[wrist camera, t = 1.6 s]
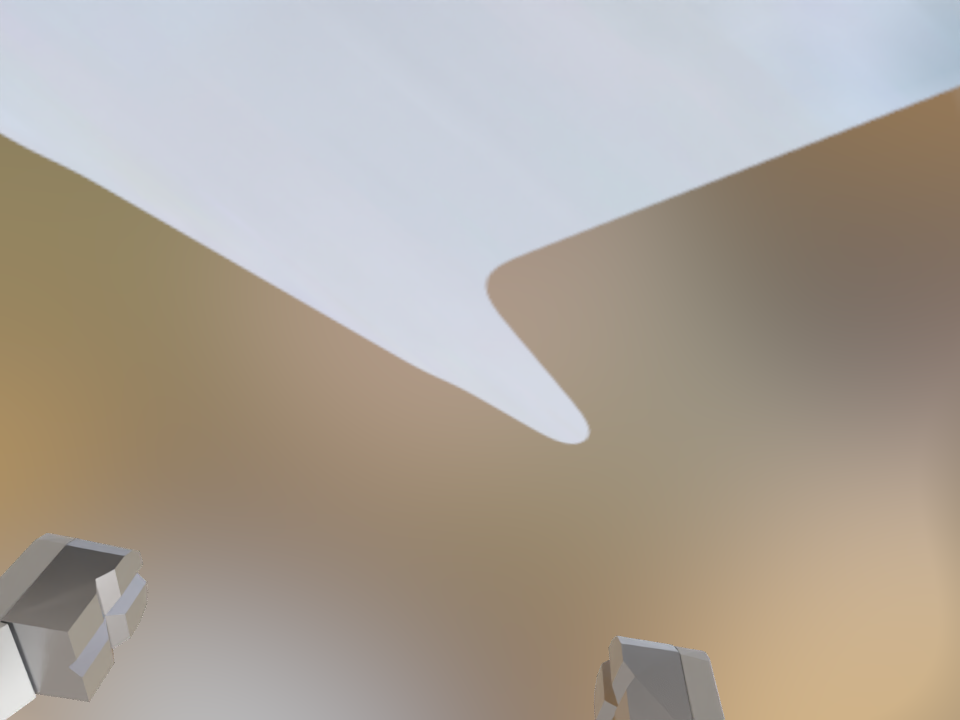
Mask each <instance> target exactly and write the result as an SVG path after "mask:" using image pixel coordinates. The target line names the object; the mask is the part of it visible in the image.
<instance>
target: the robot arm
mask: <svg viewBox="0 0 960 720" xmlns="http://www.w3.org/2000/svg"><path fill="white" fill-rule="evenodd" d="M142 565H143V562H142V558H141V554H140V551H137V550H132V549H126V548H121V547H116V546H111V545H106V544H101V543H96V542H91V541H86V540H81V539H78V538H72V537H67V536H61V535H56V534H50V533H46V534H45V535H43V536H41V537H40V538H38V539H36V540H35V541H34V542H33V543H32V544H31V545H30V546H29V547H28V548H27V549H26V550H25V551H24V552H23V553H22V554H21V556H20V557H19V558H18V559H17V560H16V561H15V562H14V563H13V564H12V565H11V566H10V567H9V568H8V570H7V571H6V572H5V573H4V574H3V575H2V576H1V577H0V720H6V719H7V718H8V717H10V716H11V715H13V714H14V713H15V712H17V711H18V710H19V709H21V708H22V707H24V706H25V705H26V704H28V703H29V702H30V701H32V700H33V699H34V698H35V697H36V695H35V694H40V695H47V696H53V697H60V698H67V699H73V700H80V701H87V702H90V700H91V698H92V697H93V696H94V694H95V692H96V691H97V689H98V688H99V686H100V685H101V683H102V682H103V680H104V678H105V677H106V675H107V674H108V672H109V671H110V669H111V668H112V666H113V665H114V653H113V649H114V648H115V647H117V646H119V645H120V644H122V643H123V642H125V641H127V640H128V639H130V638H131V636H132V635H133V633H134V631H135V630H136V628H137V627H138V625H139V623H140V621H141V618H142V616H143V613H144V611H145V608H146V605H147V598H148V588H147V582H146V581H145V580H144V579H143V578H142V577H141V576H140V575H139V574H138V571H139V570H140V568H141V567H142ZM609 657H610V660H608V661H606V662H604V663H603V664H602V665H601V667H600V670H599V673H598V675H597V681H596V686H595V695H594V712H595V720H725V718H724V714H723V710H722V707H721V702H720V698H719V694H718V690H717V686H716V682H715V678H714V674H713V670H712V666H711V662H710V658H709V657H708V656H707V654H706V652H704V651H701V650H694V649H687V648H682V647H675V646H673V645H670V644H663V643H658V642H651V641H645V640H640V639H633V638H627V637H620V636H616V637H615V638H613V640H612V642H611V644H610V646H609Z"/></svg>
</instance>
